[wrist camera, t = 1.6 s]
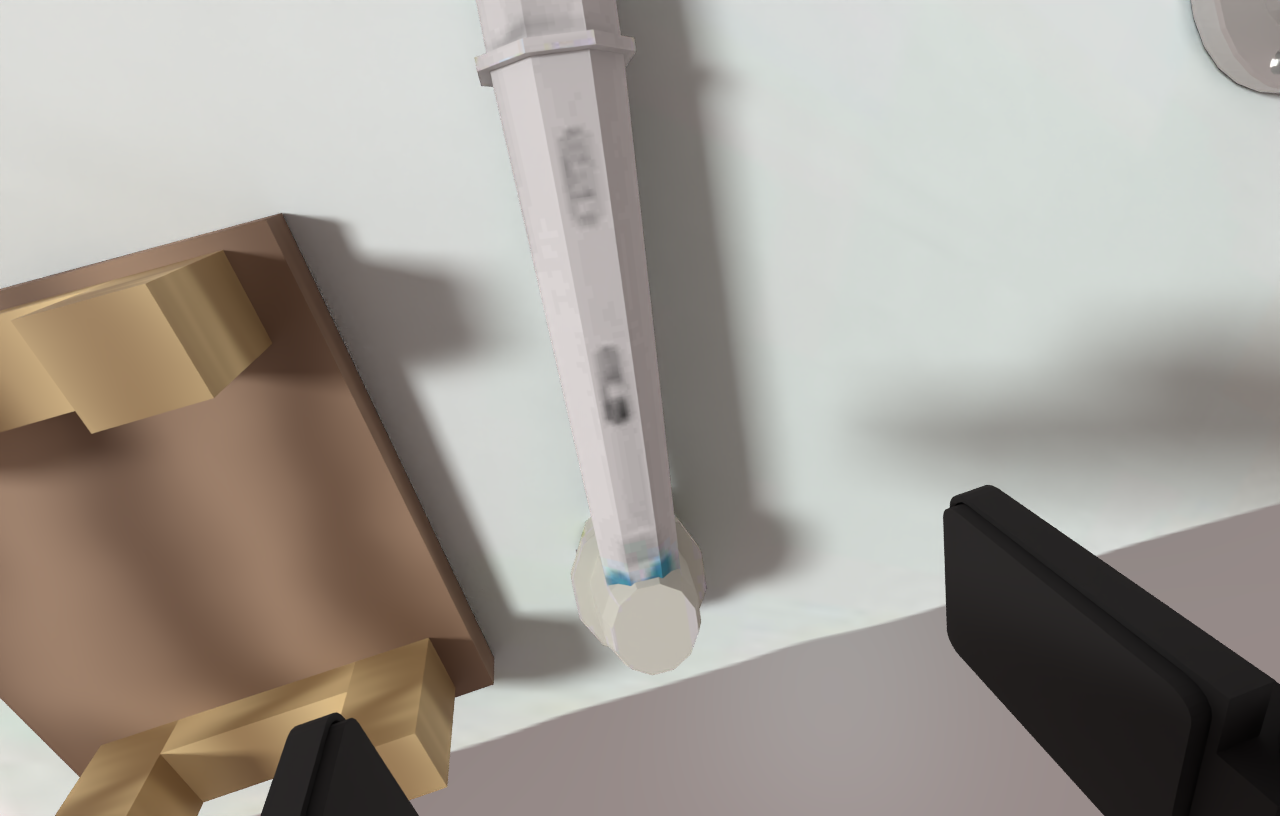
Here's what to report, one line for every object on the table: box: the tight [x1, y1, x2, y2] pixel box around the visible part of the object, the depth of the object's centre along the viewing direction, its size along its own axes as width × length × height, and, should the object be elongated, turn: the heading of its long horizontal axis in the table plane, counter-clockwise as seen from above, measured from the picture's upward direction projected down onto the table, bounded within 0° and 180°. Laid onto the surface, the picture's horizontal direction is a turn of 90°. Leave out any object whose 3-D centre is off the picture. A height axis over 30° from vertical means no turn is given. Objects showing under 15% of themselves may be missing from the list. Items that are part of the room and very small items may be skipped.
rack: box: [0, 213, 494, 816], centre depth 21 cm, size 16×20×6 cm
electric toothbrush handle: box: [475, 0, 707, 675], centre depth 22 cm, size 5×7×25 cm
